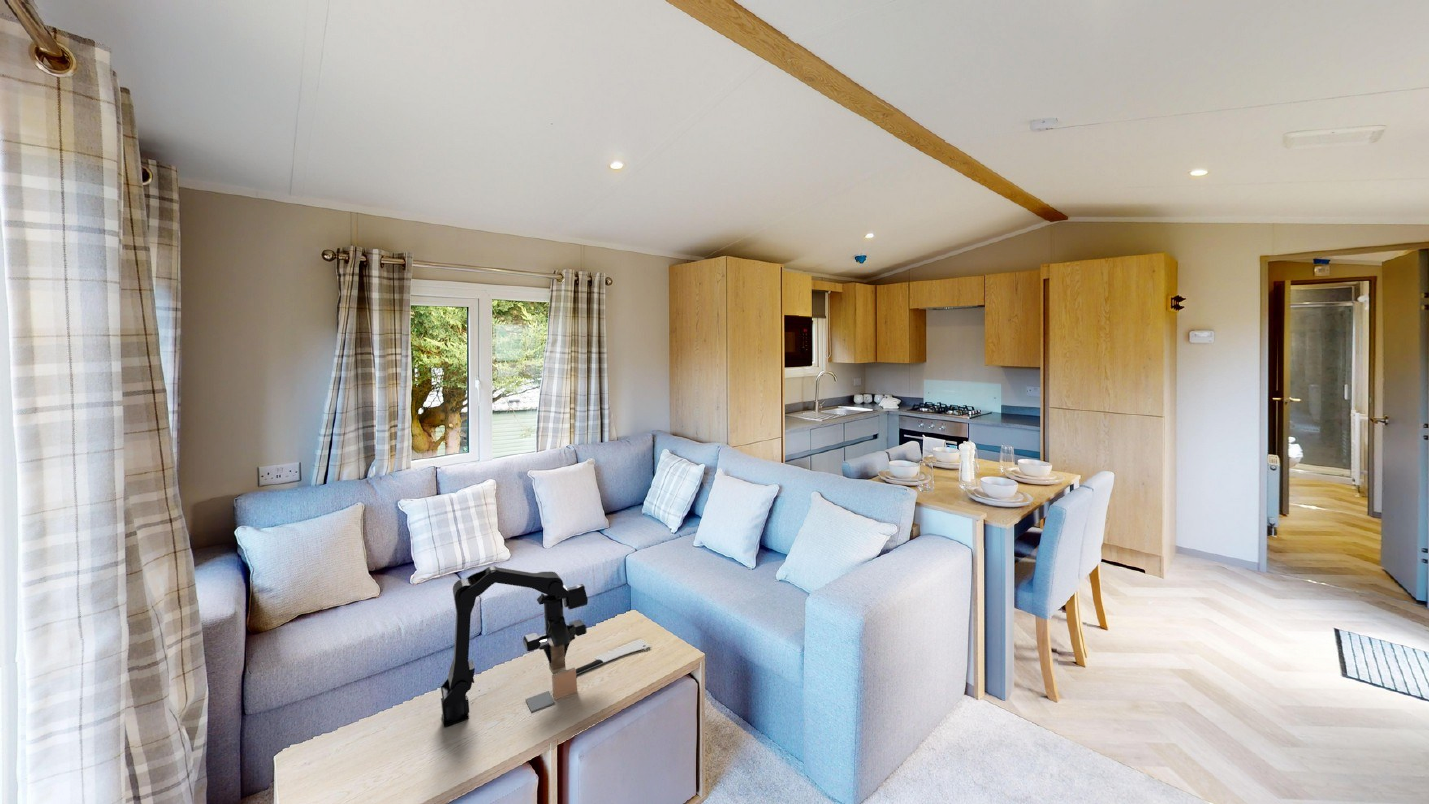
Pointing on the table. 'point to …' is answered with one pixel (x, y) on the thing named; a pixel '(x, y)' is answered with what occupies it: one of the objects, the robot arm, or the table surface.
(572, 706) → the table surface
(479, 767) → the table surface
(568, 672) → the tile
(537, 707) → the pad
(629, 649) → the kitchen cleaver
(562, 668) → the wooden post stub
